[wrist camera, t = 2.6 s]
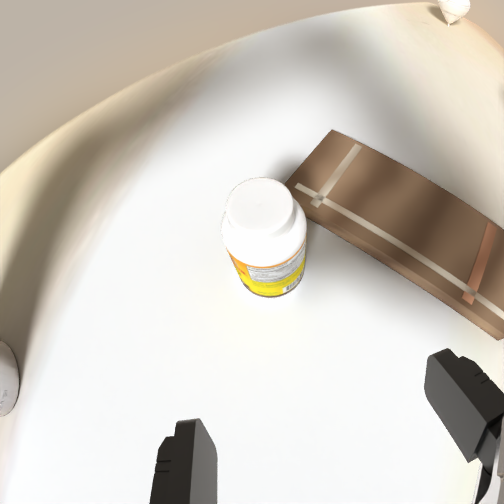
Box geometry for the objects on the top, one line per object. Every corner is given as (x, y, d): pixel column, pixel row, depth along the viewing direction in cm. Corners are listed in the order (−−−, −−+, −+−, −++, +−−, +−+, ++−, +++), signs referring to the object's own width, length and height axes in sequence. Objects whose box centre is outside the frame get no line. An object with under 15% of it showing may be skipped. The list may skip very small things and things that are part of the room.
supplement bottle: (241, 240, 29) (217, 167, 20) (303, 240, 28) (306, 165, 19) (236, 300, 27) (206, 246, 18) (304, 301, 26) (309, 246, 17)
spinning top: (447, 19, 48) (455, -22, 37) (470, 35, 44) (480, -8, 33) (425, 18, 47) (431, -27, 36) (448, 34, 44) (458, -13, 33)
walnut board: (278, 201, 30) (277, 190, 29) (330, 139, 33) (331, 128, 32) (497, 340, 22) (507, 336, 20) (522, 256, 24) (530, 250, 23)
